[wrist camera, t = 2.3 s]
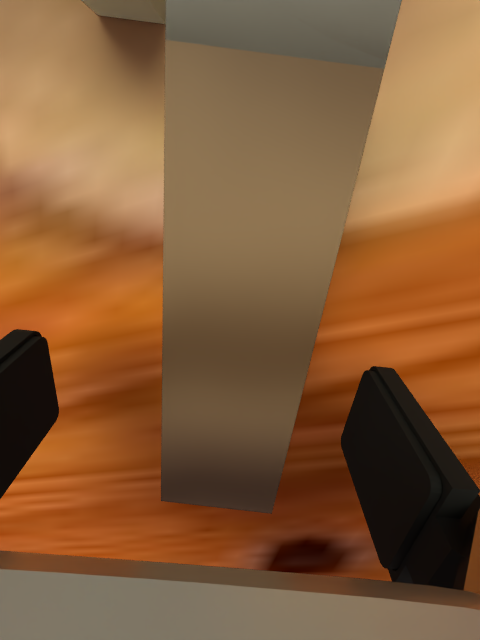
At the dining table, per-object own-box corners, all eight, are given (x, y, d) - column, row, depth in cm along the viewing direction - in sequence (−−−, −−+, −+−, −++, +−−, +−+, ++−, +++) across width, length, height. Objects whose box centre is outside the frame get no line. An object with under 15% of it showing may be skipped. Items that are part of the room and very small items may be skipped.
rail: (207, 43, 10) (166, -54, 5) (338, 60, 10) (407, -21, 5) (187, 405, 16) (160, 500, 12) (267, 415, 16) (271, 513, 12)
